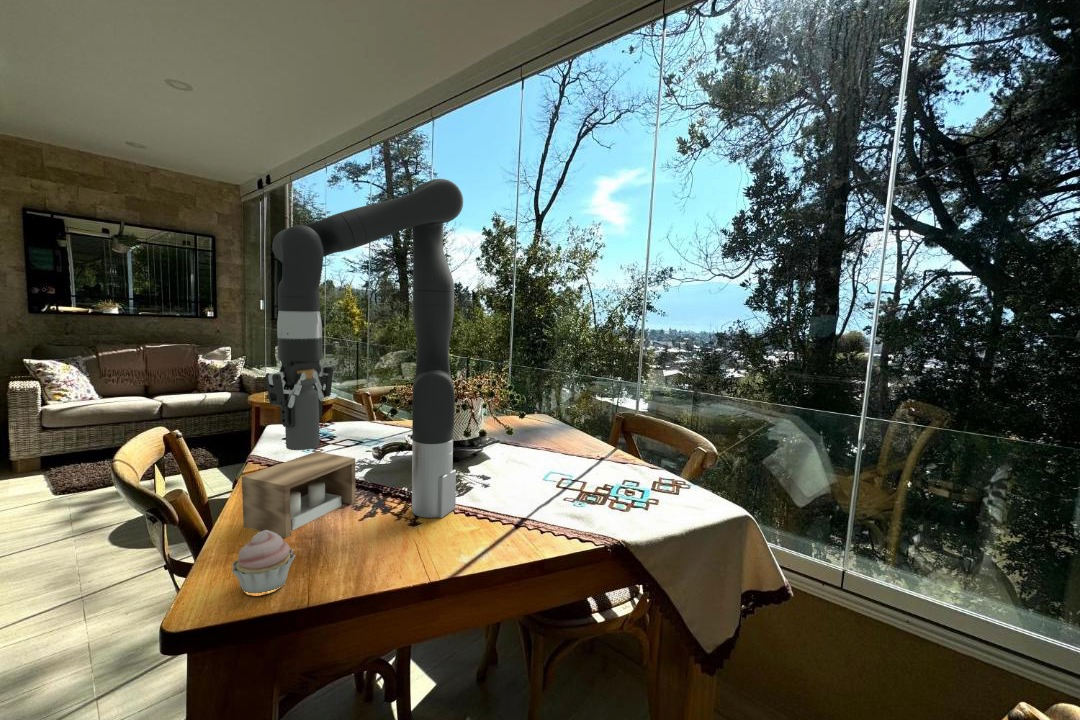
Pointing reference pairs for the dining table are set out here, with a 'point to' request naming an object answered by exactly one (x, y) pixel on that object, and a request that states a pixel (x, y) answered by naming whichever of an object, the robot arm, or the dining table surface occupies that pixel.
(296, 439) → the bottle
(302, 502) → the shelved tray
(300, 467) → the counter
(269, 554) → the cupcake
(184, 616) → the dining table surface
